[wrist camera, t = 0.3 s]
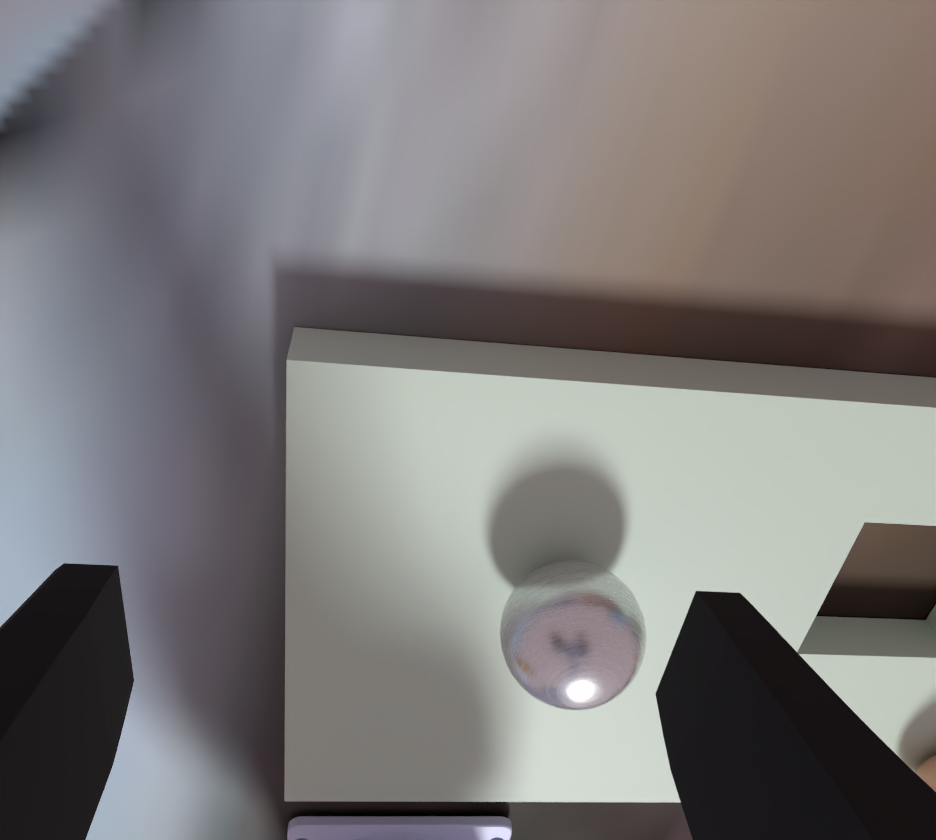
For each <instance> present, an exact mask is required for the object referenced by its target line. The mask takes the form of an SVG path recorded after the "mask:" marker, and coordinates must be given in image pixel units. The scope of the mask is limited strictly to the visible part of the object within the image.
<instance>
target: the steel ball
mask: <svg viewBox="0 0 936 840" xmlns="http://www.w3.org/2000/svg"><path fill="white" fill-rule="evenodd" d="M500 641H501V648H502V652H503V656H504V659H505V661H506V664H507V666H508V668H509V670H510V672H511V674H512V675H513V677H514V678H515V680H516V681H517V682H518V683H519V684H520V686H521V687H522V688H523V689H524V690H525V691H526V692H528V693H529V694H530V695H531V696H533V697H534V698H536V699H537V700H539V701H541V702H543V703H545V704H547V705H549V706H552V707H555V708H559V709H564V710H573V711H576V710H587V709H592V708H596V707H599V706H602V705H604V704H606V703H608V702H610V701H612V700H613V699H615V698H616V697H618V696H619V695H620V694H621V693H622V692H624V691H625V690H626V689H627V687H628V686H629V685H630V684H631V683H632V681H633V680H634V678H635V677H636V675H637V673H638V671H639V669H640V667H641V665H642V662H643V658H644V654H645V649H646V627H645V621H644V617H643V614H642V611H641V608H640V606H639V604H638V602H637V600H636V598H635V596H634V595H633V593H632V592H631V591H630V589H629V588H628V587H627V586H626V585H625V584H624V583H623V581H621V580H620V579H619V578H618V577H617V576H615V575H614V574H613V573H611V572H610V571H608V570H607V569H604V568H602V567H600V566H598V565H596V564H593V563H589V562H584V561H577V560H563V561H557V562H552V563H549V564H546V565H544V566H541V567H539V568H537V569H536V570H534V571H533V572H531V573H530V574H528V575H527V576H526V577H524V578H523V579H522V580H521V581H520V582H519V584H518V585H517V586H516V587H515V588H514V590H513V591H512V593H511V594H510V596H509V598H508V600H507V602H506V604H505V607H504V610H503V614H502V617H501V625H500Z"/></svg>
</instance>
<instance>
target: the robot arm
mask: <svg viewBox="0 0 936 840" xmlns="http://www.w3.org/2000/svg"><path fill="white" fill-rule="evenodd" d="M133 682H134V678H133V671H132V663H131V656H130V649H129V642H128V635H127V627H126V620H125V613H124V606H123V599H122V592H121V584H120V577H119V570H118V566H110V565H87V564H63V565H61V566H60V567H59V568H57V569H56V570H55V571H54V572H53V573H52V574H51V575H50V576H49V577H48V578H47V579H46V580H45V581H44V582H43V583H42V584H41V585H40V586H39V588H38V589H37V590H36V591H35V592H34V593H33V594H32V595H31V596H30V597H29V598H28V599H27V600H26V601H25V602H24V603H23V604H22V605H21V606H20V607H19V608H18V609H17V611H16V612H15V613H14V614H13V615H12V616H11V617H10V618H9V619H8V620H7V621H6V622H5V623H4V624H3V625H2V626H1V627H0V840H85V839H86V836H87V833H88V831H89V828H90V825H91V823H92V820H93V817H94V815H95V812H96V809H97V806H98V804H99V801H100V798H101V796H102V793H103V790H104V788H105V785H106V782H107V779H108V777H109V774H110V771H111V768H112V766H113V762H114V758H115V755H116V751H117V747H118V743H119V739H120V735H121V732H122V728H123V724H124V720H125V715H126V711H127V707H128V703H129V699H130V695H131V691H132V686H133ZM656 699H657V705H658V710H659V716H660V721H661V726H662V732H663V737H664V742H665V746H666V751H667V756H668V760H669V765H670V769H671V773H672V776H673V779H674V783H675V786H676V789H677V792H678V795H679V798H680V801H681V804H682V808H683V811H684V814H685V817H686V820H687V823H688V826H689V829H690V832H691V835H692V838H693V840H936V792H935V791H934V790H933V789H932V788H931V787H930V786H929V785H928V784H927V783H926V782H925V781H923V780H922V779H921V778H920V777H919V776H918V775H917V774H916V773H915V772H914V771H913V770H912V769H911V768H910V767H909V766H908V765H907V764H906V763H904V762H903V761H902V760H901V759H900V758H899V757H898V756H897V755H896V754H895V753H894V752H893V751H892V750H891V749H890V748H889V747H888V746H887V745H886V744H885V743H884V742H883V741H882V740H881V739H880V738H879V737H878V736H877V735H876V734H875V733H874V732H873V731H872V730H871V729H870V728H869V727H868V726H867V725H866V724H865V723H864V722H863V721H862V720H861V719H860V718H859V717H858V716H857V715H856V714H855V713H854V712H853V711H852V710H851V708H850V707H849V706H848V705H847V704H846V703H845V702H844V701H843V700H842V699H841V698H840V697H839V696H838V695H837V694H836V693H835V692H834V691H833V690H832V689H831V688H830V687H829V686H828V685H827V684H826V682H825V681H824V680H823V679H822V678H821V677H820V676H819V675H818V674H817V673H816V672H815V671H814V670H813V669H812V668H811V667H810V666H809V664H808V663H807V662H806V661H805V660H804V659H803V658H802V657H801V656H800V655H799V654H798V653H797V652H796V651H795V650H794V649H793V647H792V646H791V645H790V644H789V643H788V642H787V641H786V640H785V639H784V638H783V637H782V636H781V635H780V634H779V633H778V631H777V630H776V629H775V628H774V627H773V626H772V625H771V624H770V623H769V622H768V621H767V620H766V619H765V618H764V617H763V616H762V615H761V614H760V612H759V611H758V610H757V609H756V608H755V607H754V606H753V605H752V604H751V603H750V602H749V601H748V600H747V599H746V598H745V597H744V596H743V595H742V594H741V593H733V592H710V591H696V592H695V595H694V597H693V600H692V602H691V605H690V607H689V610H688V612H687V615H686V617H685V620H684V623H683V625H682V628H681V630H680V633H679V635H678V638H677V640H676V643H675V645H674V648H673V650H672V653H671V655H670V658H669V661H668V663H667V666H666V668H665V671H664V673H663V676H662V678H661V681H660V683H659V686H658V688H657V691H656ZM511 834H512V827H511V821H510V820H509V819H508V818H506V817H503V816H299V817H296V818H293V819H292V820H291V821H290V822H289V824H288V832H287V840H510V838H511Z"/></svg>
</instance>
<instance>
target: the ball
mask: <svg viewBox="0 0 936 840" xmlns="http://www.w3.org/2000/svg"><path fill="white" fill-rule="evenodd" d="M915 773H916V774H917V775H918V776H919V777H920V778H921V779H922V780H923V781H925V782H926V783H927V784H928V785H929V786H930V787H931V788H932V789H933V790H934V791H935V792H936V755H934V756H932V757H930V758H928V759H927V760H926V761H924V762H923V763H922V764H921V765H920V766H919V767H918V768H917V770H916V771H915Z"/></svg>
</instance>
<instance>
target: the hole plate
mask: <svg viewBox="0 0 936 840" xmlns="http://www.w3.org/2000/svg"><path fill="white" fill-rule="evenodd" d="M864 522H873V523H892V524H911V525H930V526H936V378H932V377H920V376H907V375H894V374H882V373H869V372H857V371H844V370H831V369H819V368H806V367H793V366H781V365H768V364H755V363H743V362H730V361H718V360H705V359H692V358H680V357H667V356H654V355H642V354H629V353H616V352H604V351H591V350H578V349H566V348H553V347H541V346H528V345H515V344H503V343H490V342H477V341H465V340H452V339H439V338H427V337H414V336H402V335H389V334H376V333H364V332H351V331H338V330H326V329H313V328H300V327H294V330H293V334H292V338H291V342H290V347H289V351H288V355H287V360H286V567H285V790H284V801H348V802H681V801H680V798H679V795H678V792H677V789H676V786H675V783H674V779H673V776H672V773H671V769H670V765H669V760H668V756H667V751H666V746H665V742H664V737H663V732H662V726H661V721H660V716H659V710H658V705H657V699H656V691H657V688H658V686H659V683H660V681H661V678H662V676H663V673H664V671H665V668H666V666H667V663H668V661H669V658H670V655H671V653H672V650H673V648H674V645H675V643H676V640H677V638H678V635H679V633H680V630H681V628H682V625H683V623H684V620H685V617H686V615H687V612H688V610H689V607H690V605H691V602H692V600H693V597H694V595H695V592H696V591H710V592H733V593H741V594H742V595H743V596H744V597H745V598H746V599H747V600H748V601H749V602H750V603H751V604H752V605H753V606H754V607H755V608H756V609H757V610H758V611H759V612H760V614H761V615H762V616H763V617H764V618H765V619H766V620H767V621H768V622H769V623H770V624H771V625H772V626H773V627H774V628H775V629H776V630H777V631H778V633H779V634H780V635H781V636H782V637H783V638H784V639H785V640H786V641H787V642H788V643H789V644H790V645H791V646H792V647H793V649H794V650H795V651H796V652H797V653H798V654H799V655H800V656H801V657H802V658H803V659H804V660H805V661H806V662H807V663H808V664H809V666H810V667H811V668H812V669H813V670H814V671H815V672H816V673H817V674H818V675H819V676H820V677H821V678H822V679H823V680H824V681H825V682H826V684H827V685H828V686H829V687H830V688H831V689H832V690H833V691H834V692H835V693H836V694H837V695H838V696H839V697H840V698H841V699H842V700H843V701H844V702H845V703H846V704H847V705H848V706H849V707H850V708H851V710H852V711H853V712H854V713H855V714H856V715H857V716H858V717H859V718H860V719H861V720H862V721H863V722H864V723H865V724H866V725H867V726H868V727H869V728H870V729H871V730H872V731H873V732H874V733H875V734H876V735H877V736H878V737H879V738H880V739H881V740H882V741H883V742H884V743H885V744H886V745H887V746H888V747H889V748H890V749H891V750H892V751H893V752H894V753H895V754H896V755H897V756H898V757H899V758H900V759H901V760H902V761H903V762H904V763H906V764H907V765H908V766H909V767H910V768H911V769H912V770H913V771H914V772H915V771H916V770H917V768H918V767H919V766H920V765H921V764H922V763H923V762H924V761H926V760H927V759H928V758H930V757H932V756H934V755H936V605H935V606H934V608H933V609H932V611H931V613H930V614H929V616H928V617H927V619H926V620H910V619H882V618H853V617H825V616H816V615H817V613H818V611H819V609H820V607H821V605H822V603H823V601H824V600H825V598H826V596H827V594H828V592H829V590H830V588H831V586H832V584H833V582H834V580H835V578H836V576H837V574H838V573H839V571H840V569H841V567H842V565H843V563H844V561H845V559H846V557H847V555H848V553H849V551H850V549H851V547H852V546H853V544H854V542H855V540H856V538H857V536H858V534H859V532H860V530H861V528H862V526H863V524H864ZM563 560H577V561H584V562H589V563H593V564H596V565H598V566H600V567H602V568H604V569H607V570H608V571H610V572H611V573H613V574H614V575H615V576H617V577H618V578H619V579H620V580H621V581H623V583H624V584H625V585H626V586H627V587H628V588H629V589H630V591H631V592H632V593H633V595H634V596H635V598H636V600H637V602H638V604H639V606H640V608H641V611H642V614H643V617H644V621H645V627H646V649H645V654H644V658H643V662H642V665H641V667H640V669H639V671H638V673H637V675H636V677H635V678H634V680H633V681H632V683H631V684H630V685H629V686H628V687H627V689H626V690H625V691H624V692H622V693H621V694H620V695H619V696H618V697H616V698H615V699H613V700H612V701H610V702H608V703H606V704H604V705H602V706H599V707H596V708H592V709H587V710H576V711H573V710H564V709H559V708H555V707H552V706H549V705H547V704H545V703H543V702H541V701H539V700H537V699H536V698H534V697H533V696H531V695H530V694H529V693H528V692H526V691H525V690H524V689H523V688H522V687H521V686H520V684H519V683H518V682H517V681H516V680H515V678H514V677H513V675H512V674H511V672H510V670H509V668H508V666H507V664H506V661H505V659H504V656H503V652H502V648H501V641H500V625H501V617H502V614H503V610H504V607H505V604H506V602H507V600H508V598H509V596H510V594H511V593H512V591H513V590H514V588H515V587H516V586H517V585H518V584H519V582H520V581H521V580H522V579H523V578H524V577H526V576H527V575H528V574H530V573H531V572H533V571H534V570H536V569H537V568H539V567H541V566H544V565H546V564H549V563H552V562H557V561H563Z"/></svg>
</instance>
